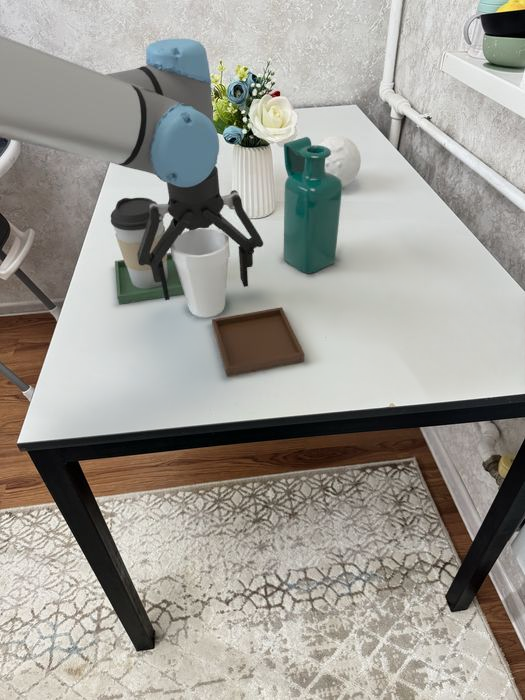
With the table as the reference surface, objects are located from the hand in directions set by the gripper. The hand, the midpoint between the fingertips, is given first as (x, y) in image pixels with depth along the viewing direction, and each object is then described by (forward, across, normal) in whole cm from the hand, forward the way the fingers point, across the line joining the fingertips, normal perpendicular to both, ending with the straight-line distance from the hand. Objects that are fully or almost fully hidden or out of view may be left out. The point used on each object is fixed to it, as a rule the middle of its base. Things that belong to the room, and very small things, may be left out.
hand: (205, 289), depth 84 cm
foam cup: (+4, 0, 0) cm, 4 cm away
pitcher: (+4, -22, -10) cm, 24 cm away
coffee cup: (+3, +9, -11) cm, 15 cm away
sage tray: (+4, +9, -11) cm, 15 cm away
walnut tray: (+4, -6, +12) cm, 14 cm away
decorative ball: (+4, -39, -40) cm, 56 cm away
